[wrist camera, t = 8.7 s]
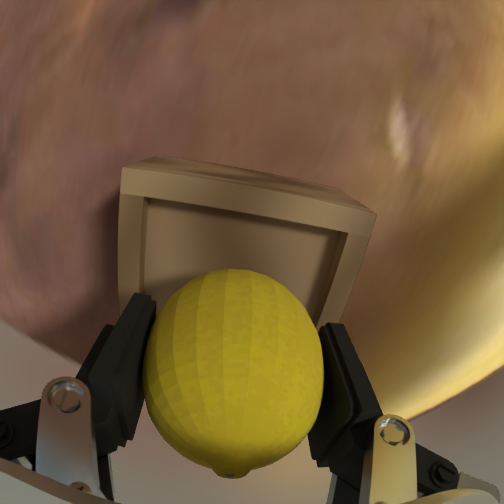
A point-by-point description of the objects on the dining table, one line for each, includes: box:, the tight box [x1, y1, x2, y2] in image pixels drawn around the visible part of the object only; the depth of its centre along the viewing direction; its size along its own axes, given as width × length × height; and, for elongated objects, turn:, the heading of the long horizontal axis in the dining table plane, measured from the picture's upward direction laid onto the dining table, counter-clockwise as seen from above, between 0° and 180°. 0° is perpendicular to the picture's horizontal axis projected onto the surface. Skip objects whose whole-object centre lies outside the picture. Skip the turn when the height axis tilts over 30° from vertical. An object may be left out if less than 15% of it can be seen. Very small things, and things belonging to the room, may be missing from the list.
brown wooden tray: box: [118, 156, 377, 333], centre depth 15 cm, size 10×10×5 cm
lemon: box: [143, 269, 324, 479], centre depth 9 cm, size 6×6×8 cm
